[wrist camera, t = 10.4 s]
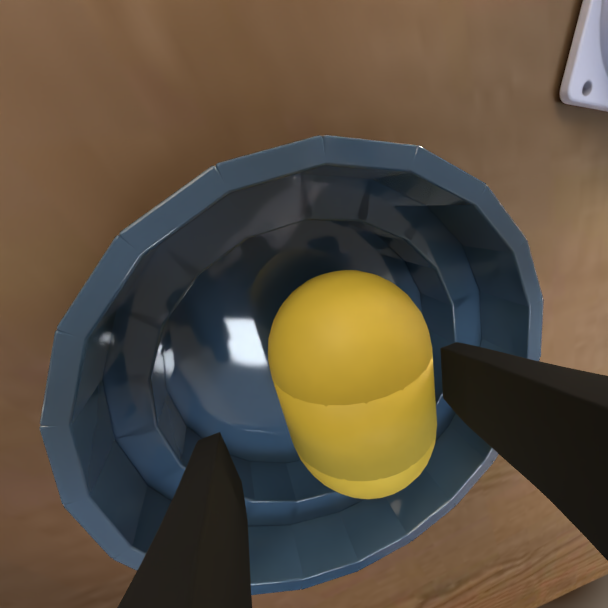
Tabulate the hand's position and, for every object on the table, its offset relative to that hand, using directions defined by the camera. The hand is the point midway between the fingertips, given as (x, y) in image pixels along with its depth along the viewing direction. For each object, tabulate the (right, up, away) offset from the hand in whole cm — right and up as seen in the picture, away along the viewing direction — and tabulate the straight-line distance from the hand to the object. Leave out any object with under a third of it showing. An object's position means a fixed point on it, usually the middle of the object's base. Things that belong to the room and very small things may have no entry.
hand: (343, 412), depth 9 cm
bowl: (-1, +1, +4) cm, 4 cm away
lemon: (+1, +1, +1) cm, 1 cm away
